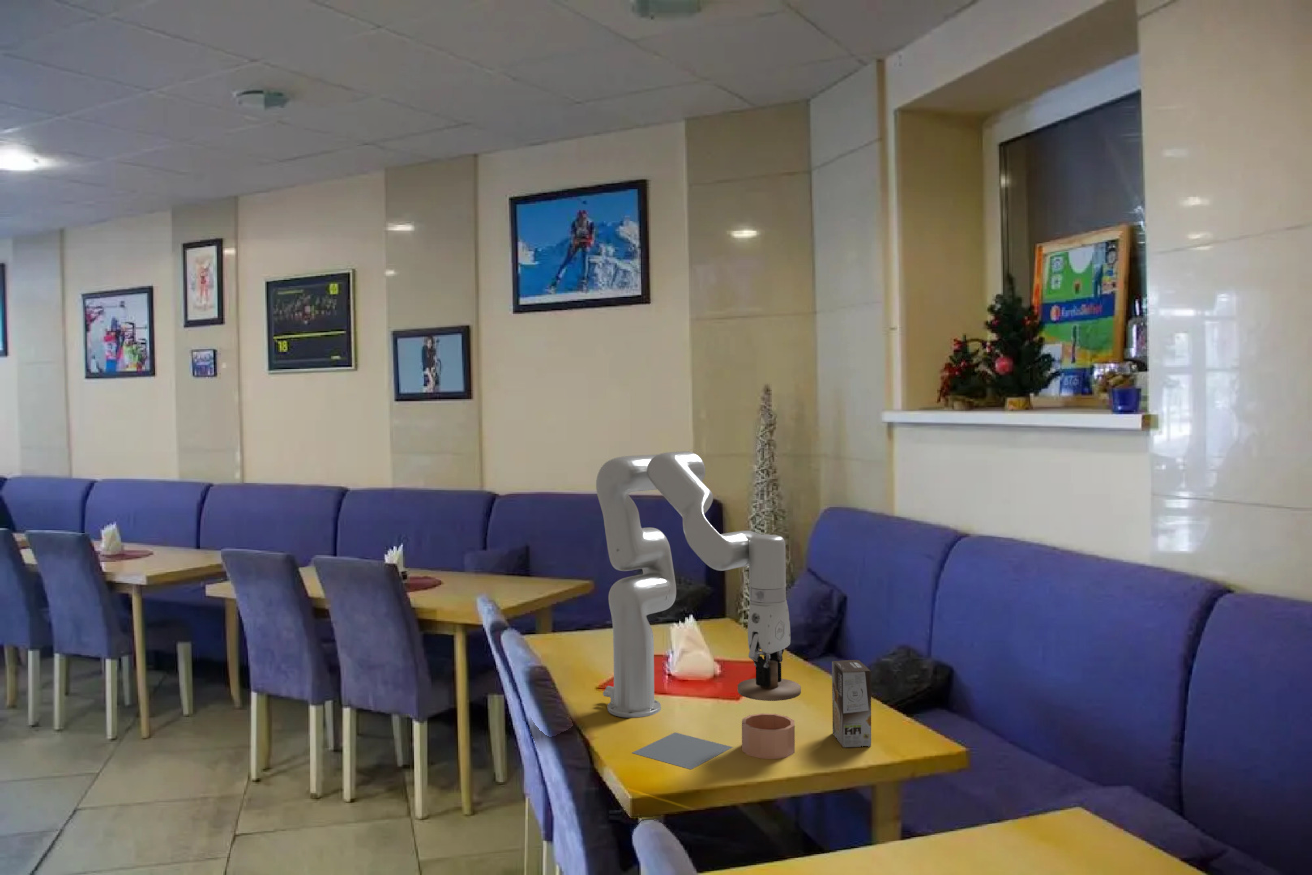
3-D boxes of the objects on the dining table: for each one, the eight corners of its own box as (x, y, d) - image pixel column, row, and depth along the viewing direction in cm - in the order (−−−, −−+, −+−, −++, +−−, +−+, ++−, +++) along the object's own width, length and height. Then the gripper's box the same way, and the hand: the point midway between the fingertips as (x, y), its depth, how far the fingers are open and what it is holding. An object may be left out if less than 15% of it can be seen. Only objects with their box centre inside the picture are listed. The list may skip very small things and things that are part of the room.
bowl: (732, 752, 195) (732, 723, 194) (759, 737, 203) (759, 710, 203) (777, 764, 188) (777, 734, 188) (804, 748, 197) (803, 720, 196)
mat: (631, 754, 194) (631, 752, 194) (675, 734, 206) (674, 732, 206) (691, 771, 185) (691, 769, 185) (732, 748, 197) (732, 746, 197)
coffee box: (872, 746, 197) (872, 670, 197) (842, 748, 197) (842, 671, 196) (859, 731, 206) (859, 659, 206) (830, 732, 206) (830, 660, 205)
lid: (725, 693, 194) (725, 664, 194) (758, 678, 204) (757, 651, 204) (781, 704, 186) (781, 674, 186) (812, 688, 196) (811, 660, 196)
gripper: (762, 604, 186) (763, 696, 186) (803, 590, 199) (804, 676, 199) (730, 599, 190) (731, 690, 191) (772, 587, 203) (773, 671, 204)
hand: (768, 682), depth 195 cm, fingers closed on lid, 3 cm apart
